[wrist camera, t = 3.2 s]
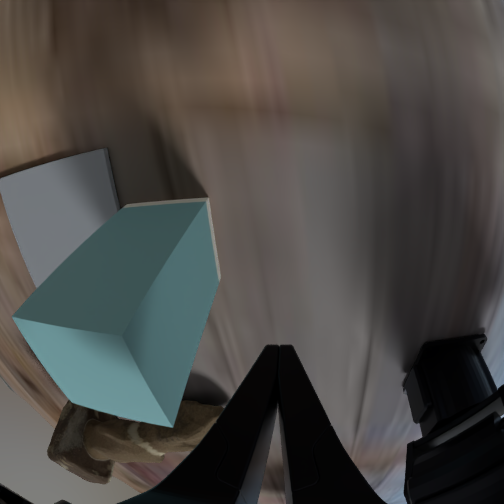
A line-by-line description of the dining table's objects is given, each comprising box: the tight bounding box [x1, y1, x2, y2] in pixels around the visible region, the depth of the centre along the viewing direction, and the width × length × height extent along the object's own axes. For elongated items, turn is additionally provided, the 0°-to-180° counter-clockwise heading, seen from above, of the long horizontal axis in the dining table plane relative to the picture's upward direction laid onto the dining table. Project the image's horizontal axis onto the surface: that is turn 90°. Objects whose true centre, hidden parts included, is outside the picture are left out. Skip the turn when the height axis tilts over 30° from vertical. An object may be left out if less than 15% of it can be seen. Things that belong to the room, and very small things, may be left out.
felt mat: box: [0, 148, 120, 288], centre depth 18 cm, size 11×12×1 cm
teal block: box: [12, 197, 221, 428], centre depth 13 cm, size 5×5×10 cm
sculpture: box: [47, 400, 224, 484], centre depth 26 cm, size 8×22×15 cm
